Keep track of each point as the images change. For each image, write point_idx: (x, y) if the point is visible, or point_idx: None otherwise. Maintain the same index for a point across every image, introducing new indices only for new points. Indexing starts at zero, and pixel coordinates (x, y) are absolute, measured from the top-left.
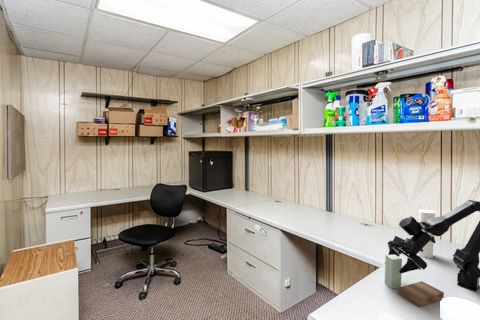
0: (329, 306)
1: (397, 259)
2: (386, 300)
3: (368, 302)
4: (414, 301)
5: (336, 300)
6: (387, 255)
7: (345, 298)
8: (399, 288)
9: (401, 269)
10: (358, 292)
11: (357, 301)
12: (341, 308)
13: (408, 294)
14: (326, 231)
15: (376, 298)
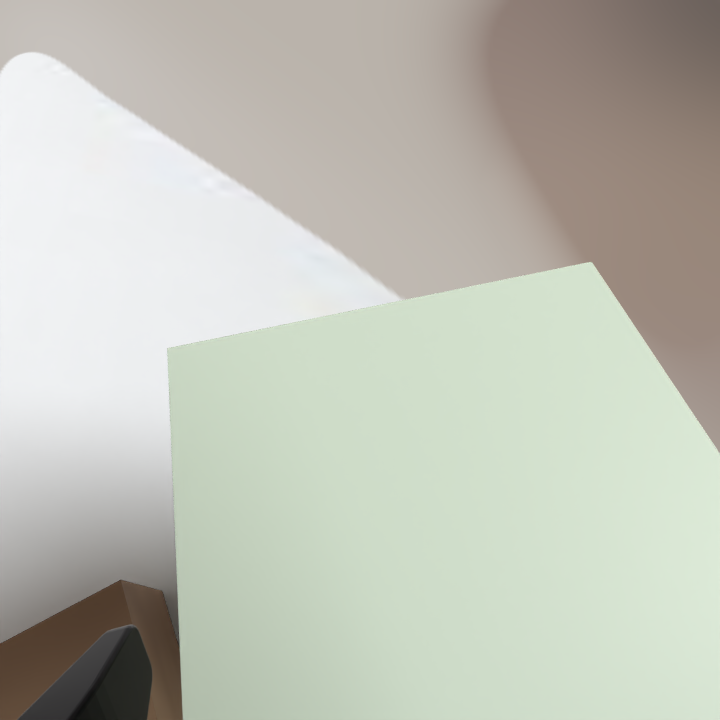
0: (75, 81)
1: (188, 624)
2: (70, 408)
3: (71, 264)
4: None
5: (128, 112)
6: (562, 304)
7: (143, 152)
8: (105, 588)
9: (62, 697)
10: (216, 233)
11: (97, 204)
12: (43, 121)
13: None
14: None
15: (115, 334)
